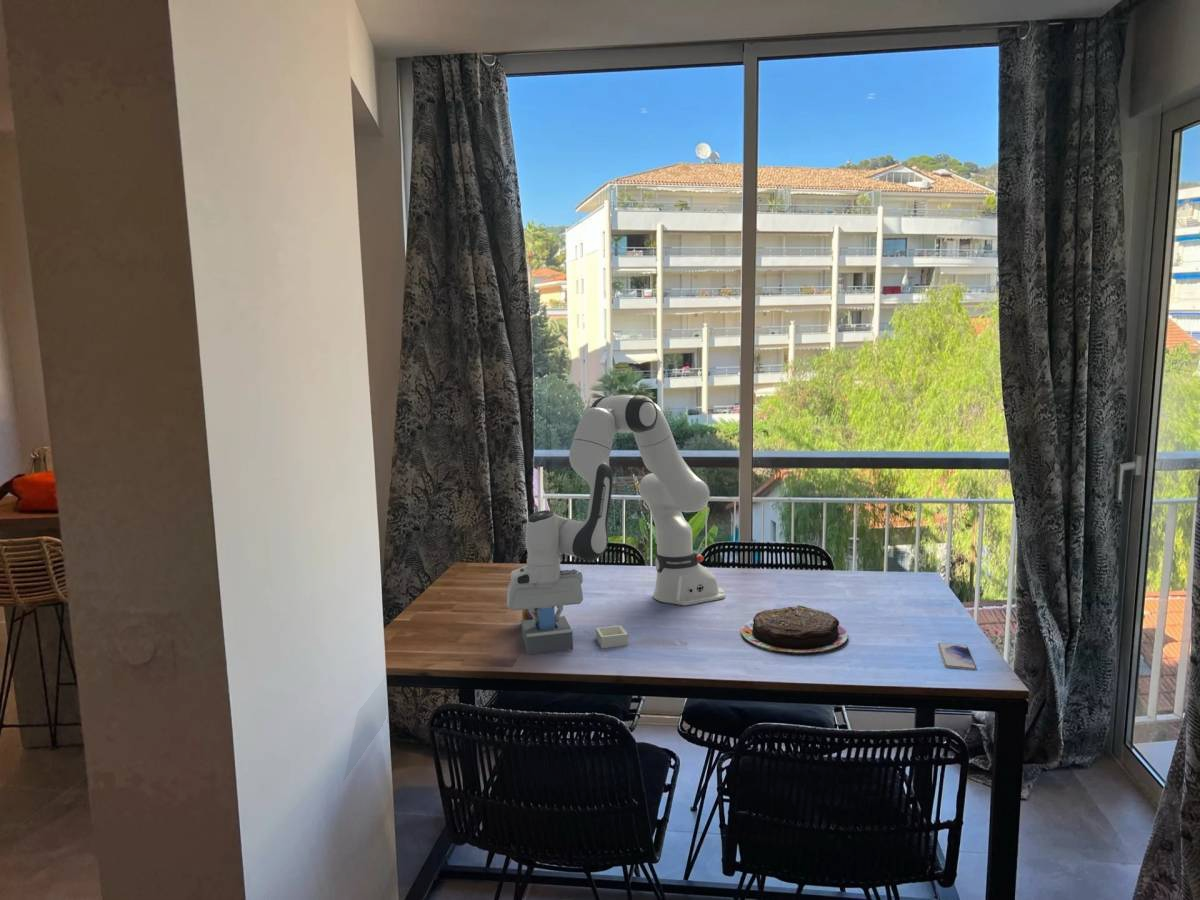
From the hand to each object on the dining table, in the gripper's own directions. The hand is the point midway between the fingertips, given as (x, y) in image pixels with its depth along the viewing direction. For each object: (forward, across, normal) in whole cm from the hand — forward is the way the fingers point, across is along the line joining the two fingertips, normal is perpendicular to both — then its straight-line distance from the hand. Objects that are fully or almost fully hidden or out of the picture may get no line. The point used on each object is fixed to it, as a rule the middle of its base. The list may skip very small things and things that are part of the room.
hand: (546, 622), depth 209 cm
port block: (+6, 0, 0) cm, 6 cm away
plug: (+4, 0, 0) cm, 5 cm away
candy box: (+6, 0, -16) cm, 17 cm away
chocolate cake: (+7, -65, +14) cm, 67 cm away
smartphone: (+7, -96, +39) cm, 104 cm away
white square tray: (+6, -17, +4) cm, 18 cm away
